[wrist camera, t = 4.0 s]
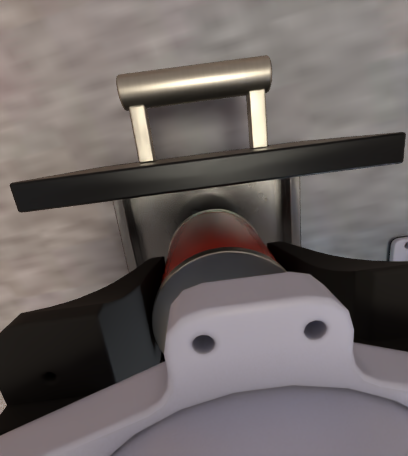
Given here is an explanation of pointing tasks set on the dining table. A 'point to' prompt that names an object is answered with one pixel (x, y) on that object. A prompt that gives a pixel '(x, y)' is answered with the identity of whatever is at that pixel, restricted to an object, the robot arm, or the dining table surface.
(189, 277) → the can
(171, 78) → the open drawer with handle
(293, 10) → the dining table surface
